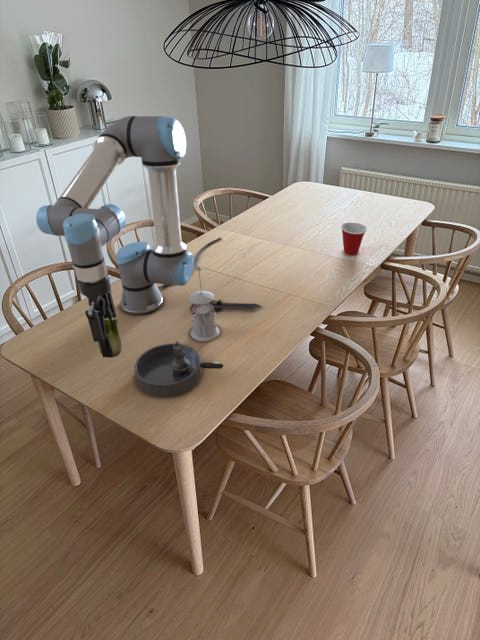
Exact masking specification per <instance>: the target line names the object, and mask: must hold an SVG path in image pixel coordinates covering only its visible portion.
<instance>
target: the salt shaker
mask: <svg viewBox="0 0 480 640" xmlns="http://www.w3.org/2000/svg"><path fill="white" fill-rule="evenodd" d="M173 344H174V345H173V352H174V353H173V357H174V360H173V361H172V362H171V364H170V366H171V368H172V370H173V371H174V372H173V377H174V378H176V379H184V378H186V377H188V376H189V375H190V373H191V372H190V370H189V367H190V361H189V360H188V359H186V358H185V356H184V355H185V352H184V351H183V345H184V344H183V343H182V342H179V341H178V340H176V342H174V343H173Z"/></svg>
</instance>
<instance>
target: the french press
mask: <svg viewBox="0 0 480 640" xmlns="http://www.w3.org/2000/svg"><path fill="white" fill-rule="evenodd" d="M202 270H203V268H202V266H201V265H197V266H196V267H195V271H197V272H198V276H199V279H201V272H200V271H202ZM199 286H200V289H202V281H201V280H199ZM214 299H215V294H214V293H212V292H211V291H207V290H198V291H194V292H193V293H192V294H190V296H189V297H188V301H189V302H190V303H191V304H192V306H193V304H195V305H194V306H193V307H191V312H190V315H191V322H192V323H191V324H192V329H191V331H190V337H191V338H192V339H193V340H196V341H199V342H208V341H212V340H214V339H217V337H219V335H220V328H219V327H217V317H216V309H215V310H214V308H215V307H213V306H214V305H212V304H210V302H211V301H214Z"/></svg>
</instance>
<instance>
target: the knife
mask: <svg viewBox="0 0 480 640" xmlns="http://www.w3.org/2000/svg"><path fill="white" fill-rule="evenodd" d="M210 304H212V305H213V307H214V310H215V311H216V313H218V312H220V311H221V310H222V309H224V310H254V309H257V308H259V307H260V308H262V307H263V306H262V305H260V304H257V303H244V302H243V303H242V302H241V303H240V302H238V303H237V302H223V300H221V299H218V301H217V300H213V301H211V302H210ZM194 305H195V304H192V307H193V306H194ZM192 307H191V308H192Z"/></svg>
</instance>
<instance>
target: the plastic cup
mask: <svg viewBox="0 0 480 640" xmlns="http://www.w3.org/2000/svg"><path fill="white" fill-rule="evenodd" d="M340 228H341V234H342V245H343V253H344V255H346V256H356V255H358V253H359V250H360V248H361V244H362V242H363V238H364V236H365V233H366V232H367V230H368V228H367V226H366V225H364V224H362V223H359V222H354V221H347V222H344V223H342V224H341V226H340Z"/></svg>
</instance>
